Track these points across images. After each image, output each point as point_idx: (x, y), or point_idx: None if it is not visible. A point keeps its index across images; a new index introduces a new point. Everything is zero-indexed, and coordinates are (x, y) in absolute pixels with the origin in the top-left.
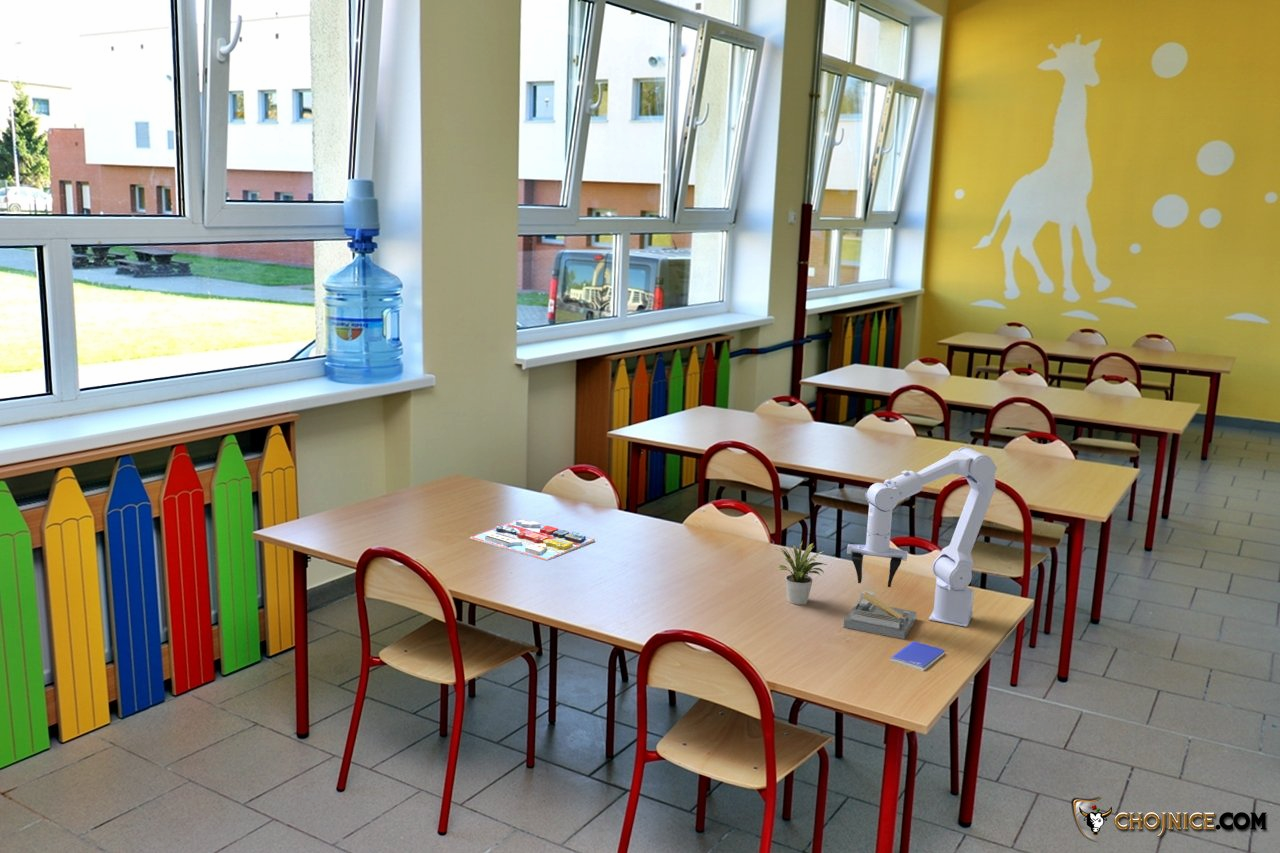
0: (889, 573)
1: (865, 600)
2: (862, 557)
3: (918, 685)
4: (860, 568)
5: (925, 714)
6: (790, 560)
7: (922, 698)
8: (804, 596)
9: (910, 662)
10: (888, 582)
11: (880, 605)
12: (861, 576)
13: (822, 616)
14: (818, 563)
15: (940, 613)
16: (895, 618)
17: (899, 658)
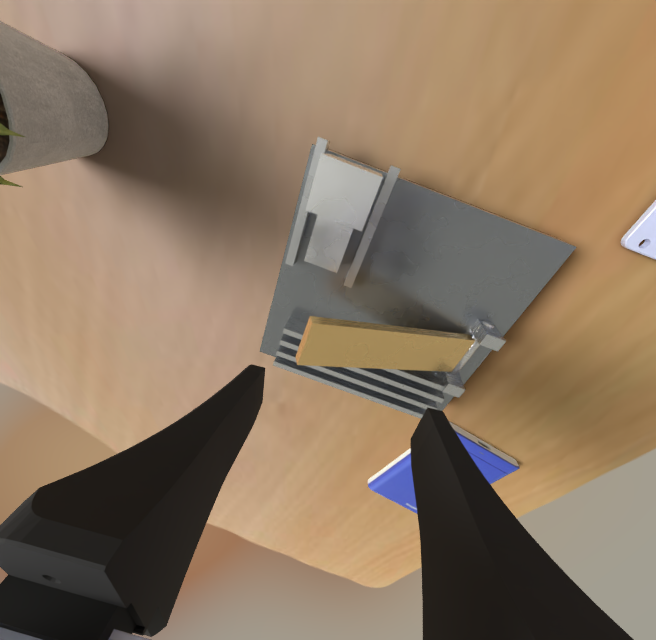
0: (421, 552)
1: (333, 221)
2: (159, 552)
3: (400, 539)
4: (208, 511)
5: (387, 581)
6: None
7: (394, 561)
8: (74, 151)
9: (405, 507)
10: (414, 472)
11: (378, 362)
12: (250, 407)
13: (197, 262)
14: None
15: None
16: (426, 384)
17: (386, 494)
